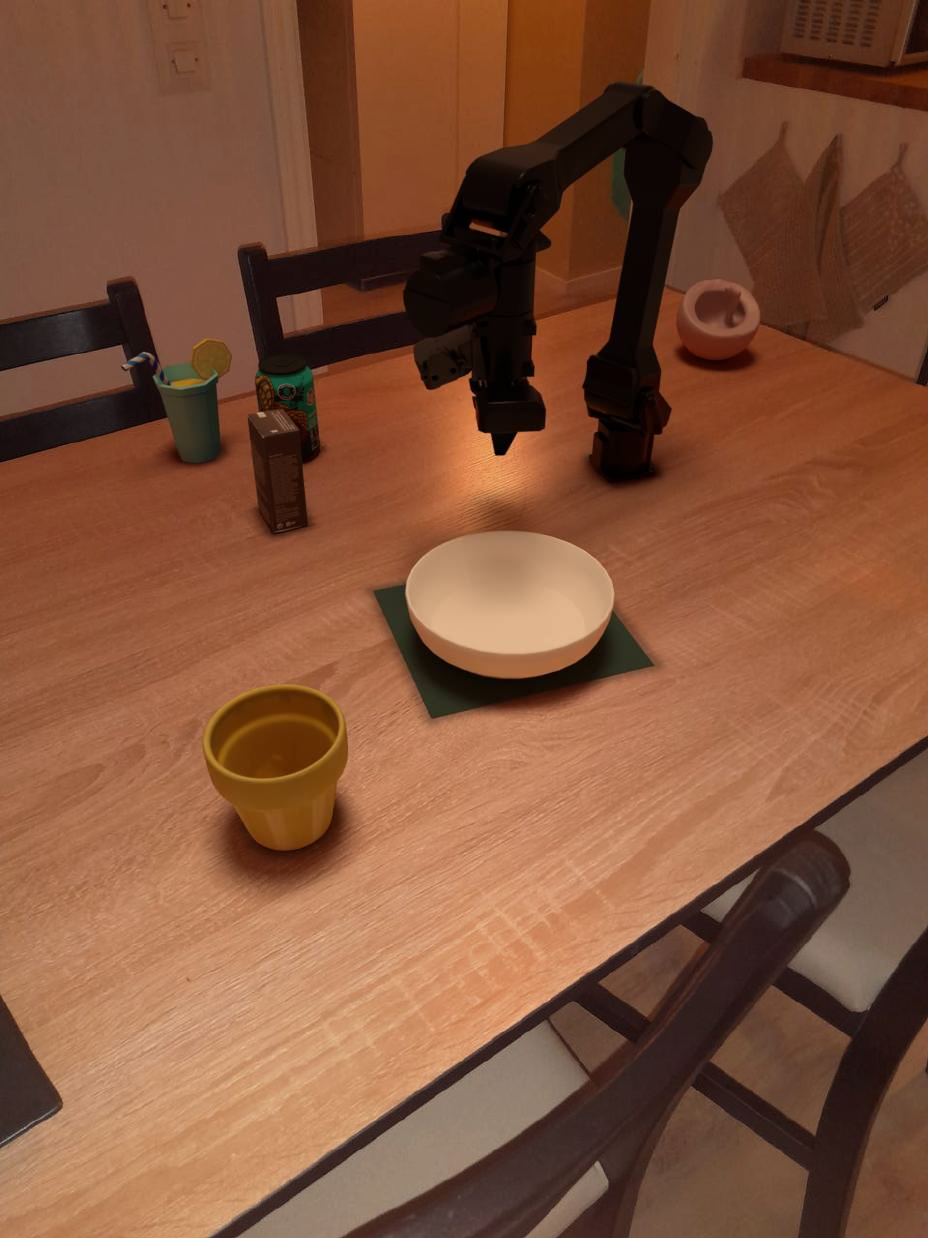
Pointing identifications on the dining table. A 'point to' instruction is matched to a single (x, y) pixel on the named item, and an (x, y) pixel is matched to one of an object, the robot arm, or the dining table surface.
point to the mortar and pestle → (717, 319)
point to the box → (278, 469)
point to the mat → (465, 690)
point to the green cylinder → (290, 395)
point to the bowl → (509, 603)
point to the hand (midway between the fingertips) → (499, 454)
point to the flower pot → (278, 761)
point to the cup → (192, 398)
